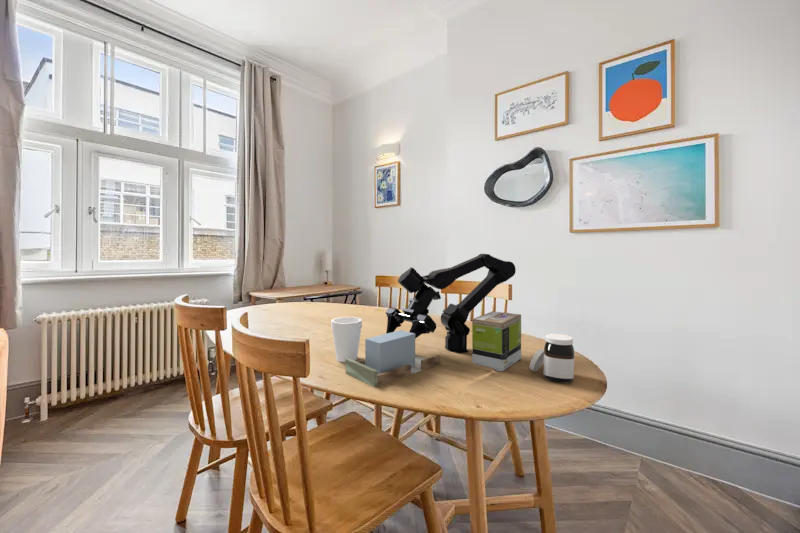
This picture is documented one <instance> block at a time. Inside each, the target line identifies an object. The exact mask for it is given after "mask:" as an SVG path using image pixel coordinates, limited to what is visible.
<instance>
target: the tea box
mask: <svg viewBox="0 0 800 533" xmlns="http://www.w3.org/2000/svg"><path fill="white" fill-rule="evenodd" d="M471 325H472V326H471V328H472V330H471V331H472V335H471V337H472V338H471V339H472V344H471V345H472V350H471V351H472V360H471V361H472V364H474V365H479V366H481V367H482V366H483V367H486V368H487V367H488V368H489V369H490V368H491V369H493V371H497V372H503V371H505V370H506V369H508V368H510V367H511V366H513V365H514V364H515V363H517V362H518V361H520V360H521V359H522V314H519V313H510V312H503V311H502V312H501V311H494V310H493V311H489V312H487V313H485V314H482V315H479V316H476V317H474V318H472V322H471Z"/></svg>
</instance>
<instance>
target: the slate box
mask: <svg viewBox="0 0 800 533" xmlns="http://www.w3.org/2000/svg"><path fill="white" fill-rule="evenodd" d="M364 341H365V343H364V344H365V345H364V346H365V351H364V354H365V355H364V356H365V358H364V360H365V366H368V367H370V368H372V369H375V370H377V374H380V373H384V372H387V371H390V370H393V369H396V368H399V367H402V366H405V365H408V364H409V365H411V368H414V367H415V355H416V339H415V333H411V332H410V331H405V330H402V329H399V330H395V331H394V332H391V333H387V334H386V333H384V334H379V335H375V336H371V337H368V338H365V340H364Z"/></svg>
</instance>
